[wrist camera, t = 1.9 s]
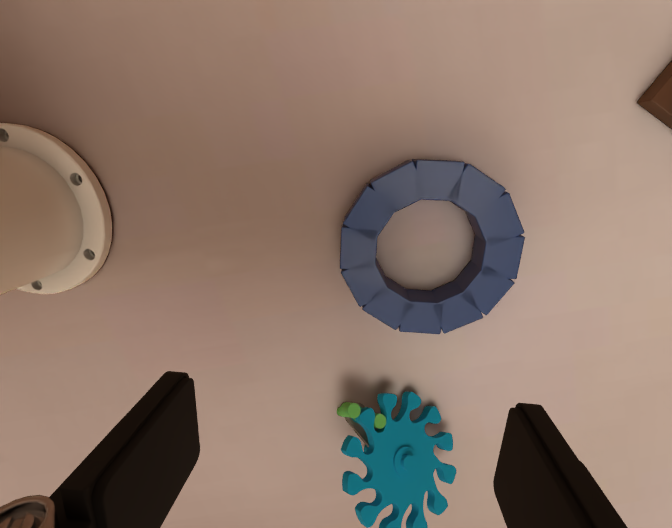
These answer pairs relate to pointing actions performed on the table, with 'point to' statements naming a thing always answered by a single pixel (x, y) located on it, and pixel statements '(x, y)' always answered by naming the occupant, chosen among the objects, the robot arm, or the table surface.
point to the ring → (476, 278)
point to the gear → (396, 460)
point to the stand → (660, 97)
